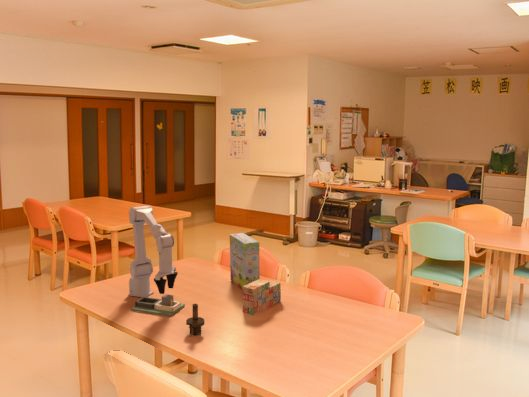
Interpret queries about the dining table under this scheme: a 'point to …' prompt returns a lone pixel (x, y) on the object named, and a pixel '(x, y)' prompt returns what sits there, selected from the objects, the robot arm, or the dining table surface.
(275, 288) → the stack of blocks
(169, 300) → the plug
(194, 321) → the industrial component
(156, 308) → the board
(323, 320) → the dining table surface
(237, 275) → the snack box
